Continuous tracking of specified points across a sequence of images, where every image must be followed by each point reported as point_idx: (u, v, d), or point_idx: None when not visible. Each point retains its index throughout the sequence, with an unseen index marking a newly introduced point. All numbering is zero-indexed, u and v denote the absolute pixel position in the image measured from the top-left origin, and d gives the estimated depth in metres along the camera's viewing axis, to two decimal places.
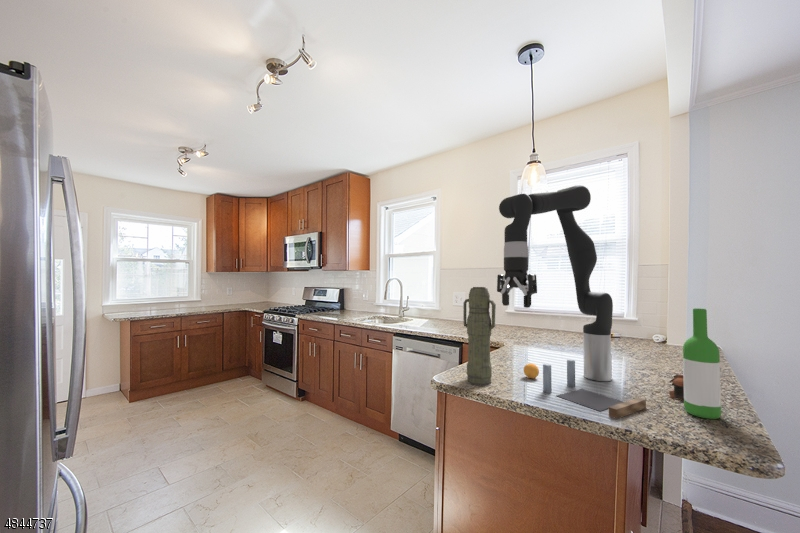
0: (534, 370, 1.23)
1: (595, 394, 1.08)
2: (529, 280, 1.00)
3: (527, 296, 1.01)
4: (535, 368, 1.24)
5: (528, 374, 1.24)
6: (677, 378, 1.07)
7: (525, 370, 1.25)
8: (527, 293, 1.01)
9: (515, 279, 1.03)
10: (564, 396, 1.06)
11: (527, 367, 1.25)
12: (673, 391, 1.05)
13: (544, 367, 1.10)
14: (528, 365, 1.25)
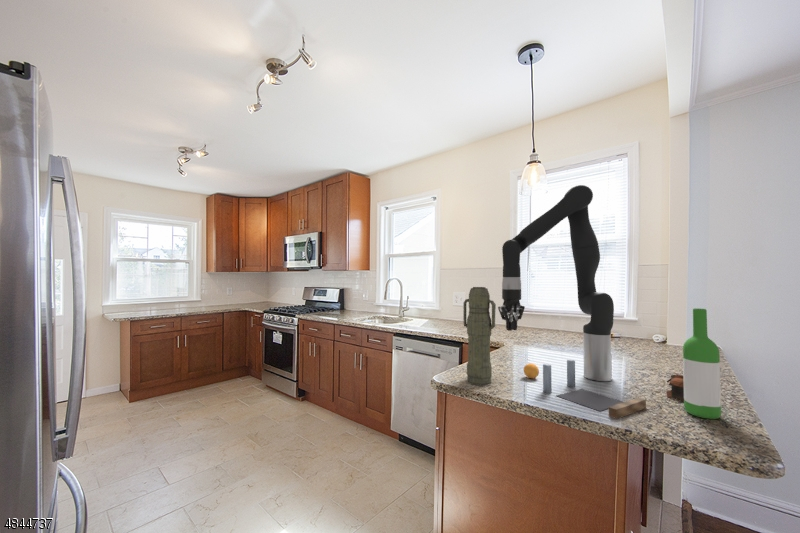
0: (534, 370, 1.23)
1: (595, 394, 1.08)
2: None
3: None
4: (535, 368, 1.24)
5: (528, 374, 1.24)
6: (674, 378, 1.07)
7: (525, 370, 1.25)
8: (505, 320, 1.34)
9: None
10: (564, 396, 1.06)
11: (527, 367, 1.25)
12: (670, 391, 1.06)
13: (544, 367, 1.10)
14: (528, 365, 1.25)
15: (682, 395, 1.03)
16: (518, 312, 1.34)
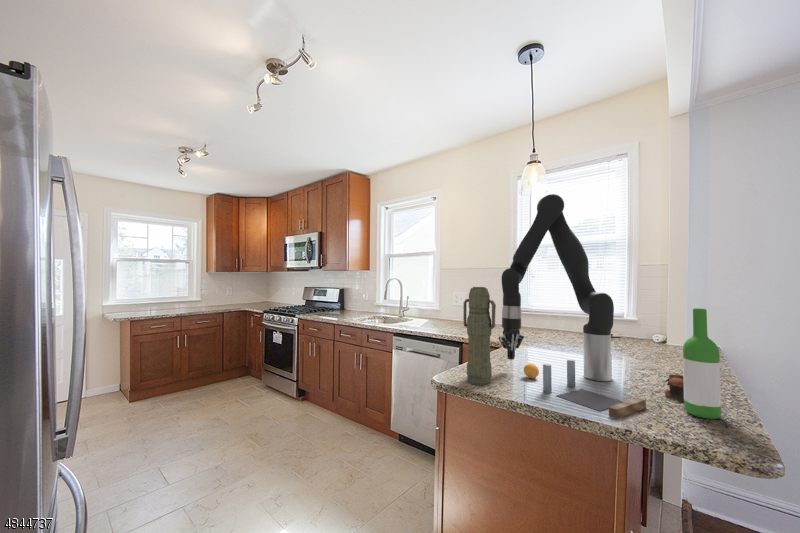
0: (534, 370, 1.23)
1: (595, 394, 1.08)
2: None
3: None
4: (535, 368, 1.24)
5: (528, 374, 1.24)
6: (673, 378, 1.07)
7: (525, 370, 1.25)
8: (507, 349, 1.34)
9: None
10: (564, 396, 1.06)
11: (527, 367, 1.25)
12: (669, 391, 1.06)
13: (544, 367, 1.10)
14: (528, 365, 1.25)
15: (680, 395, 1.03)
16: (517, 341, 1.33)
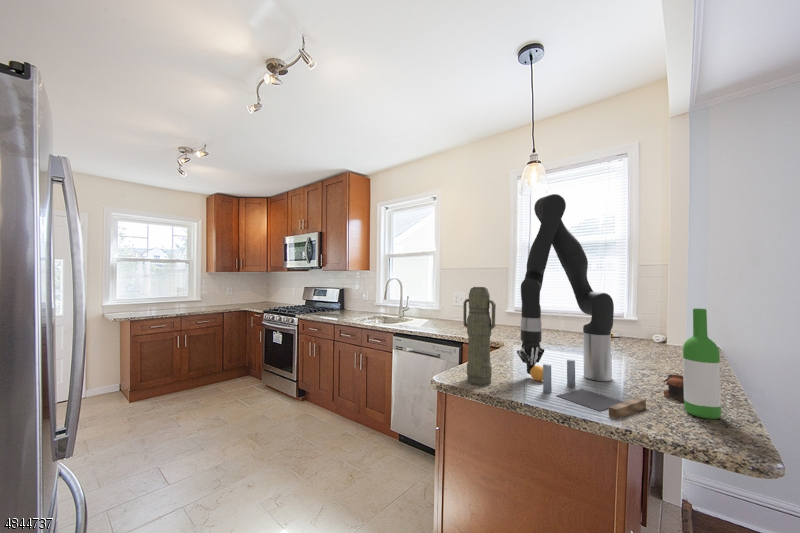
0: (541, 379, 1.20)
1: (595, 394, 1.08)
2: None
3: None
4: None
5: (533, 377, 1.22)
6: (671, 378, 1.07)
7: (533, 373, 1.21)
8: None
9: None
10: (564, 396, 1.06)
11: (536, 373, 1.20)
12: (668, 391, 1.06)
13: (544, 367, 1.10)
14: (539, 372, 1.20)
15: (679, 395, 1.03)
16: (537, 355, 1.26)
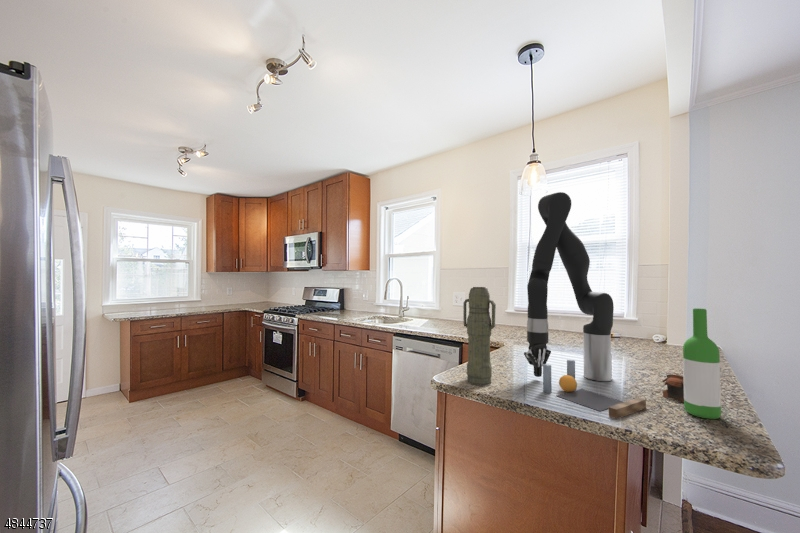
0: (570, 378, 1.09)
1: (595, 394, 1.08)
2: None
3: None
4: (569, 376, 1.10)
5: (566, 385, 1.09)
6: (670, 378, 1.07)
7: (561, 383, 1.10)
8: (533, 365, 1.23)
9: None
10: (564, 396, 1.06)
11: (561, 379, 1.11)
12: (666, 391, 1.06)
13: (544, 367, 1.10)
14: (561, 377, 1.11)
15: (678, 395, 1.03)
16: (544, 357, 1.23)
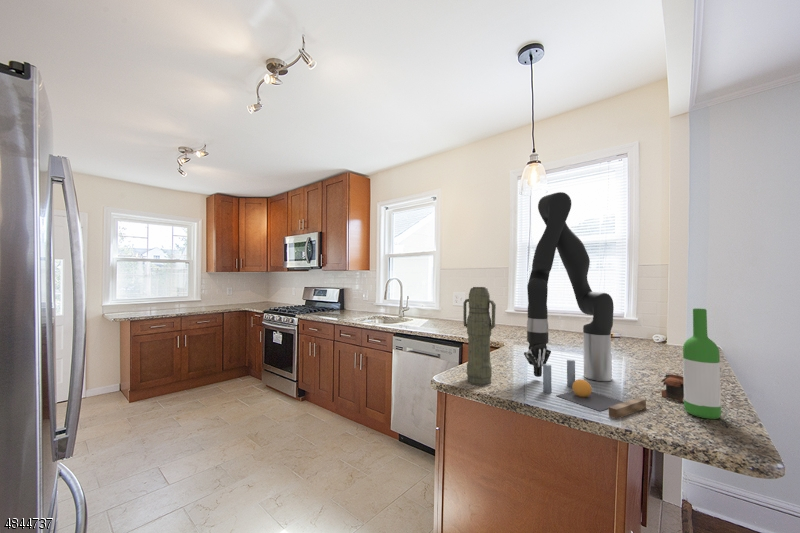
0: (585, 396, 1.04)
1: (595, 394, 1.08)
2: None
3: None
4: (588, 395, 1.04)
5: (575, 392, 1.05)
6: (669, 377, 1.07)
7: (576, 388, 1.05)
8: (533, 365, 1.23)
9: None
10: (564, 396, 1.06)
11: (581, 389, 1.04)
12: (665, 390, 1.06)
13: (544, 367, 1.10)
14: (584, 388, 1.03)
15: (677, 395, 1.03)
16: (544, 357, 1.23)
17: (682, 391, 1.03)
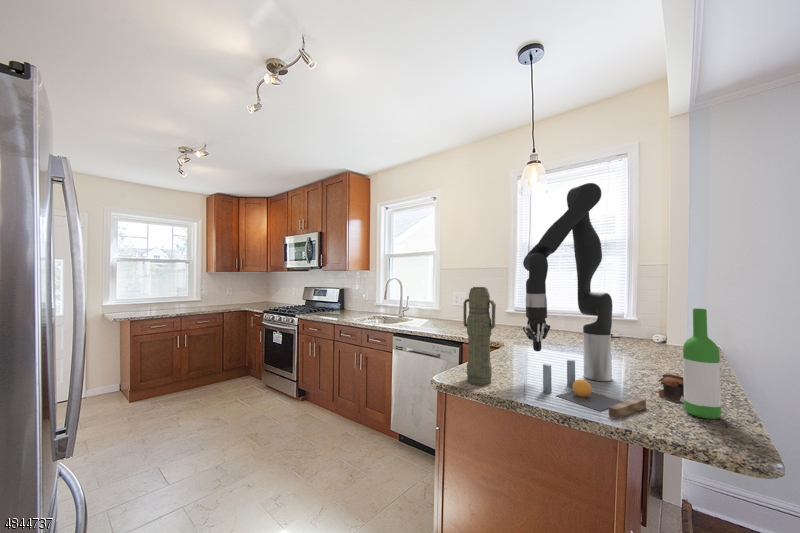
0: (585, 396, 1.04)
1: (595, 394, 1.08)
2: None
3: None
4: (588, 395, 1.04)
5: (575, 392, 1.05)
6: (666, 377, 1.08)
7: (576, 388, 1.05)
8: (532, 340, 1.25)
9: None
10: (564, 396, 1.06)
11: (581, 389, 1.04)
12: (662, 390, 1.06)
13: (544, 367, 1.10)
14: (584, 389, 1.03)
15: (674, 394, 1.03)
16: (543, 332, 1.24)
17: (679, 391, 1.03)
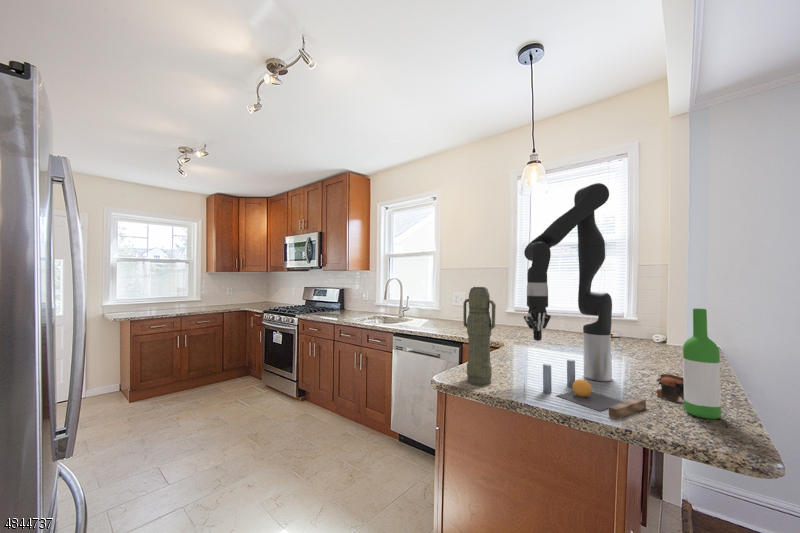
0: (585, 396, 1.04)
1: (595, 394, 1.08)
2: None
3: None
4: (588, 395, 1.04)
5: (575, 392, 1.05)
6: (664, 377, 1.08)
7: (576, 388, 1.05)
8: (533, 329, 1.24)
9: None
10: (564, 396, 1.06)
11: (581, 389, 1.04)
12: (660, 390, 1.06)
13: (544, 367, 1.10)
14: (584, 389, 1.03)
15: (672, 394, 1.03)
16: (544, 321, 1.23)
17: (677, 391, 1.03)
